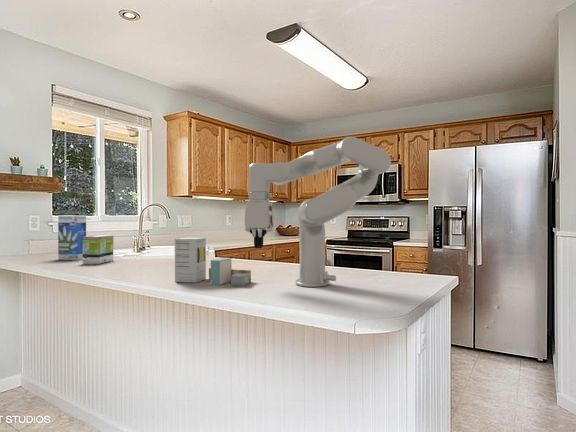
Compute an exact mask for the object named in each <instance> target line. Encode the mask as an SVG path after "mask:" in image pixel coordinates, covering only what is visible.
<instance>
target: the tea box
mask: <svg viewBox="0 0 576 432" xmlns="http://www.w3.org/2000/svg"><path fill="white" fill-rule="evenodd" d="M81 260H82V264H84V265H100V264H103V263H108V262H113V261H114V235H110V234H105V235H104V234H103V235H101V234H99V235H96V234H95V235H86V236H84V237H83V257H82V259H81Z"/></svg>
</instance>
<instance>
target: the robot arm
mask: <svg viewBox="0 0 576 432" xmlns="http://www.w3.org/2000/svg"><path fill="white" fill-rule="evenodd" d="M350 162H353V163H355V164H357V165H359V166H358V171H357V173H356V174H355V176H352V177H351V178H350V179H347V180H345V181H343V182H342V183H339V184H337V185H334V186H332V187H330V188H329V189H328V190H327V191H325V192H323V193H321V194H319V195H316V196H315V197H312V198H308V199H305V200H303V202H302V203H301V204H300V206H299V208H298V212H297V213H298V215H297V216H298V219H297V220H298V227H299V228H298V230H299V238H298V239H299V244H298V246H299V278H298V279H296V280H295V284H296V286H300V287H306V288H308V287H310V288H317V287H319V288H320V287H326V286H330V283H331V282H337V275H334V274H329V271H328V270H327V271H326V227H325V224H326V223H328V222H329V221H332V220H333V219H335V218H337V217H339V216H341V215H343V214H345V213H347V212H348V211H350V210H351V209H353V208H354V206H355V205H356V203H357V202H358V201H359V200H361V199H363V198H364V197H366V196H368V195H370V193H372V192H373V191H374V189H375V188H376V186H377V183H378V179H379V175H381V174H384V173H385V172H388V170H389V169H390V168H391V165H392V159H391V156H390V154H388V152H387V151H385V149H382V148H380V147H378V146H375V145H373V144H371V143H369V142H367V141H365V140H362V139H360V138H359V137H358V138H357V137H355V136H346V137H345V138H343V139H342V140H340V141H338V142H334V143H331V144H329V145H326V146H323V147H320V148H315V149H313V150H311V151H309V152H306V153H305V154H304V155H302V156H300V157H297V158H295V159H292V160H290V161H287V162H273V163H264V162H254V163H251V164H249V166H248V201H246V205H245V210H244V226H245V229H244V231H245V232H248V233H250V234H251V235H252V237H253V246H254V249H262V248H263V246H264V237H265V236H266V235H267V234H268V233H271V232H273V231H274V230H273V228H274V225H275V220H274V219H275V218H274V217H275V216H274V209H273V208H274V207H273V203H272V201H271V200H270V199H272V198H273V194H272V193H270V183H272V185H276V186H281V185H285V184H287V183H290V182H292V181H297V180H299V179H302V178H305V177H308V176H309V177H310V176H312V175H313V176H314V175H316V174H320V173H322V172H325V171H327V170H331V169H333V168H337V167H340V166H342V165H346V164H348V163H350ZM330 281H331V282H330Z"/></svg>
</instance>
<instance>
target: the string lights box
mask: <svg viewBox="0 0 576 432" xmlns="http://www.w3.org/2000/svg"><path fill="white" fill-rule="evenodd" d="M57 219H58V220H57V221H58V222H57V224H58V226H57V229H58V230H57V231H58V232H57V235H58V236H57V237H58V238H57V239H58V240H57V243H58V250H57V251H58V253H57V254H58V256H57V257H58V260H64V261H68V260H69V261H79V260H80V261H81V260H82V257H83V237H84V236H87V216H86V215H69V214H68V215H58V217H57Z"/></svg>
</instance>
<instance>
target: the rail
mask: <svg viewBox="0 0 576 432" xmlns="http://www.w3.org/2000/svg"><path fill="white" fill-rule="evenodd" d="M231 272H232V275H233V274H235V273H249V283H248V284H251V282H252V271H251V269H250V270H249V269H236V268H235V269H234V268H231ZM208 280H210V281H211V267H209V268H208Z"/></svg>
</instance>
